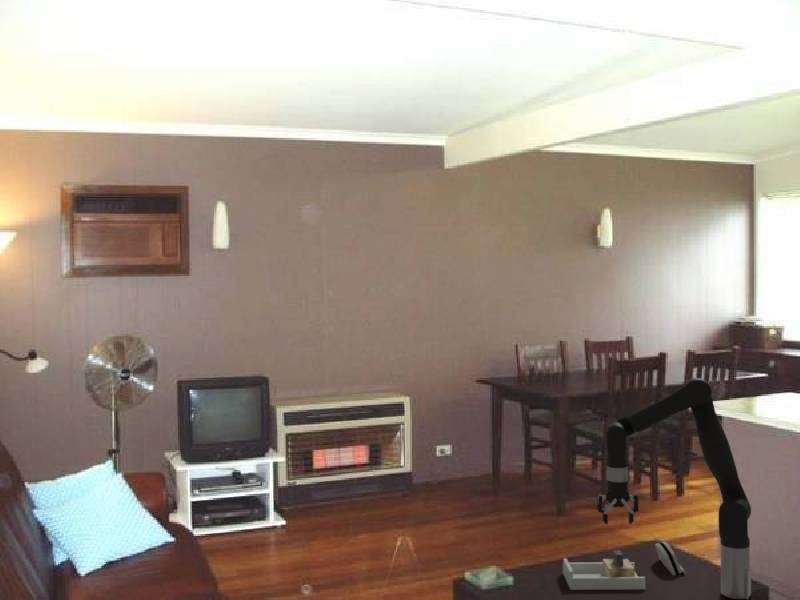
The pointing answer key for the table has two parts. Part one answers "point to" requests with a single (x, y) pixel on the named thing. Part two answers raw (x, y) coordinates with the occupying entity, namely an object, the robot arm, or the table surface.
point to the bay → (597, 577)
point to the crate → (617, 566)
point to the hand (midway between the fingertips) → (618, 523)
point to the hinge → (668, 558)
